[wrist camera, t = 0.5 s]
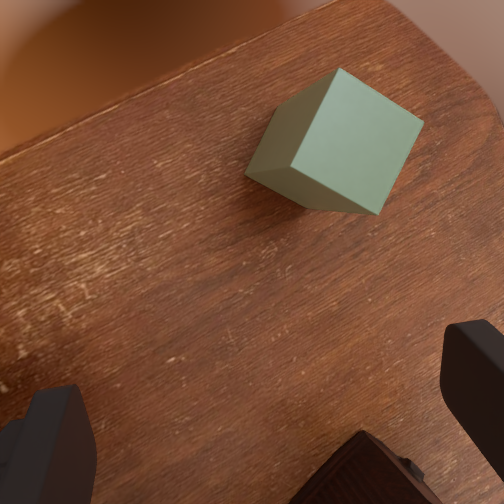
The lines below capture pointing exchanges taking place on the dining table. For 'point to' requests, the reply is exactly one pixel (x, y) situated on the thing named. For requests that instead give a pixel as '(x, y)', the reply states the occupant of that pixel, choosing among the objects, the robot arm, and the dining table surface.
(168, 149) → the dining table surface
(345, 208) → the green carton
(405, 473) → the coffee grinder
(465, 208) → the dining table surface
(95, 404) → the dining table surface
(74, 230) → the dining table surface
